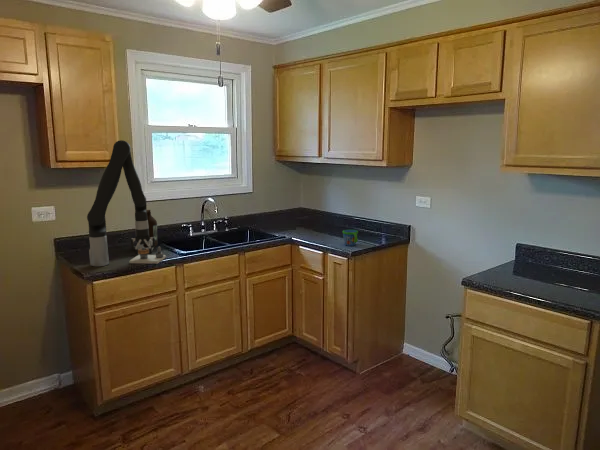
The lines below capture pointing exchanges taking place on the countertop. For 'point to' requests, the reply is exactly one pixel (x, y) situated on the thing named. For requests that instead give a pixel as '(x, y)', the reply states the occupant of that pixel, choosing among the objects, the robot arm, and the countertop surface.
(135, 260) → the board
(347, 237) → the snack cup
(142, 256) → the stand rod
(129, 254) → the countertop surface
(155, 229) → the olive oil
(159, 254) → the hub post
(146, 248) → the ring
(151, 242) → the donut
